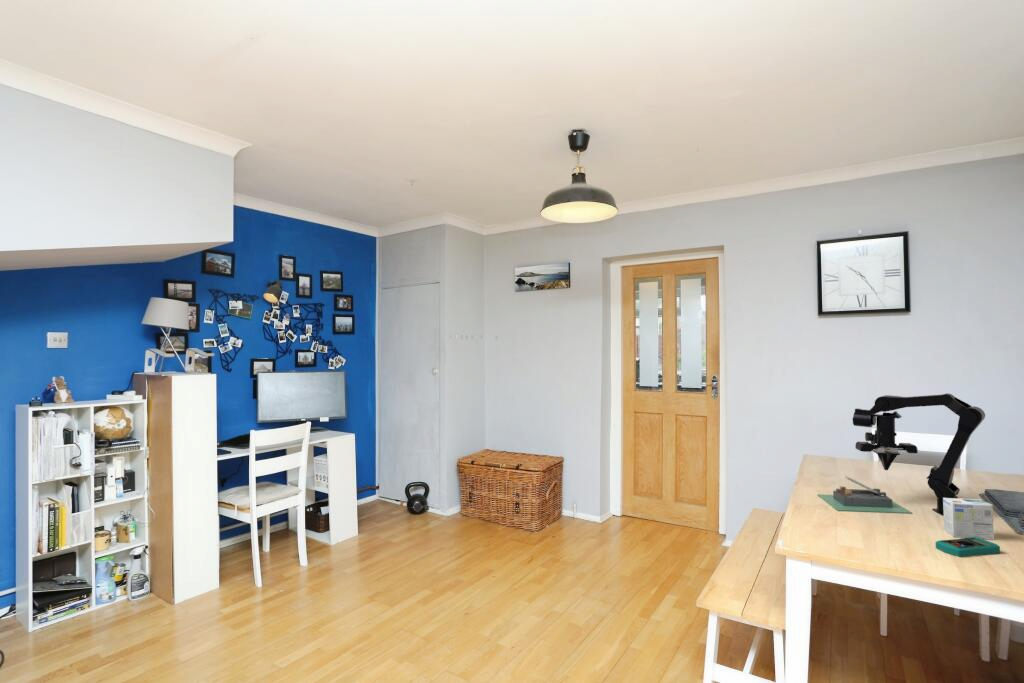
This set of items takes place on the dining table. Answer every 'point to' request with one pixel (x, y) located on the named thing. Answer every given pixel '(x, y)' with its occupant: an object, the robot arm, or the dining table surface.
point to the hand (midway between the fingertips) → (886, 470)
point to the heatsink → (862, 498)
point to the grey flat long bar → (862, 485)
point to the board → (840, 507)
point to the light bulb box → (968, 518)
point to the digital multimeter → (967, 547)
